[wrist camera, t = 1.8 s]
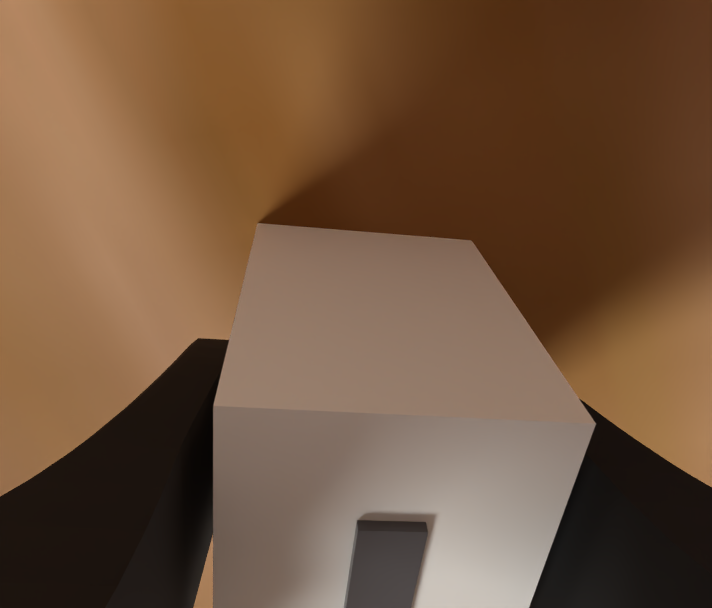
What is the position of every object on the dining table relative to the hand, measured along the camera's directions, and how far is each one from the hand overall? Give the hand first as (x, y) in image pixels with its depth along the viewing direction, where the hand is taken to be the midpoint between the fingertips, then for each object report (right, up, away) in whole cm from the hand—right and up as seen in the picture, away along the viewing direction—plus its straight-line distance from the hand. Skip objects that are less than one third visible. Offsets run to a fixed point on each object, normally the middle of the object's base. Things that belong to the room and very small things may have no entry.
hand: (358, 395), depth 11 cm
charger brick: (0, +1, +1) cm, 2 cm away
